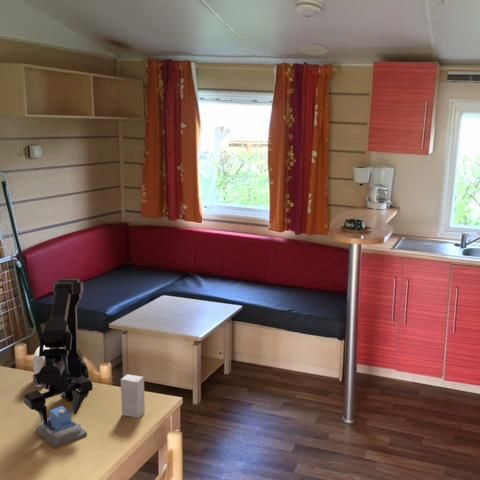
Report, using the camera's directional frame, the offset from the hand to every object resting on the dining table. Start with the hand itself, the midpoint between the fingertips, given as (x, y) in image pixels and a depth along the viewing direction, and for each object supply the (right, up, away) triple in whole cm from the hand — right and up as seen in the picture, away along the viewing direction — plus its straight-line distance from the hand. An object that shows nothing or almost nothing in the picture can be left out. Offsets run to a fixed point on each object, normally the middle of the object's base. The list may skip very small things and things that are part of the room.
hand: (60, 419), depth 172 cm
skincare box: (+19, -2, +13) cm, 23 cm away
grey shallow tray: (0, -4, +1) cm, 4 cm away
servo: (0, -3, +1) cm, 4 cm away
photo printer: (-16, +3, +34) cm, 38 cm away
